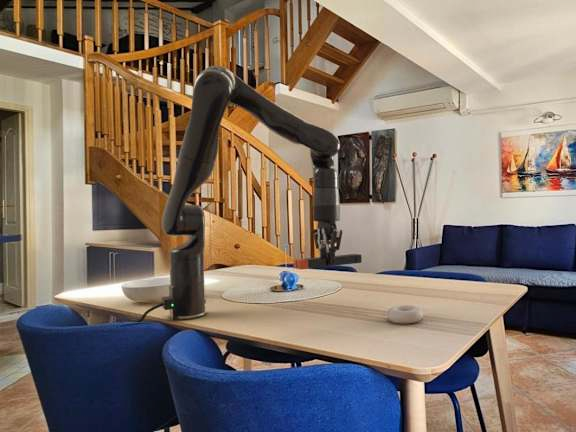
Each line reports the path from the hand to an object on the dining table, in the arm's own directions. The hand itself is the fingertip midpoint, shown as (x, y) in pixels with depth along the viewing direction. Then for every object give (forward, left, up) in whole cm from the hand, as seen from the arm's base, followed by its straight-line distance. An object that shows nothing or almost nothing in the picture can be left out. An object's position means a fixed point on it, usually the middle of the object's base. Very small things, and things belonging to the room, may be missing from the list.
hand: (327, 264), depth 119 cm
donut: (+15, -16, -15) cm, 27 cm away
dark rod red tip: (0, 0, 0) cm, 1 cm away
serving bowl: (-35, +63, -15) cm, 74 cm away
